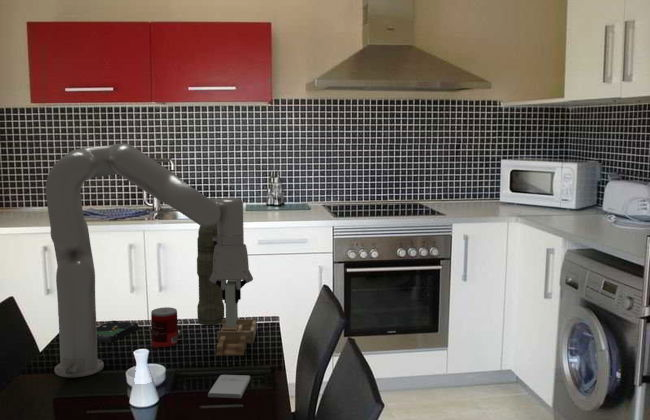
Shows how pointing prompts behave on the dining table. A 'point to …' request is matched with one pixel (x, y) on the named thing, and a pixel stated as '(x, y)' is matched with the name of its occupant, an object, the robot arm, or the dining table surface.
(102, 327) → the disk drive
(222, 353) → the stand
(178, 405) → the dining table surface
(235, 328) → the offcut
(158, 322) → the canned food
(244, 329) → the rack
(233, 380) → the external hard drive
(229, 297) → the grey-green flat slab
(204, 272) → the thermos
